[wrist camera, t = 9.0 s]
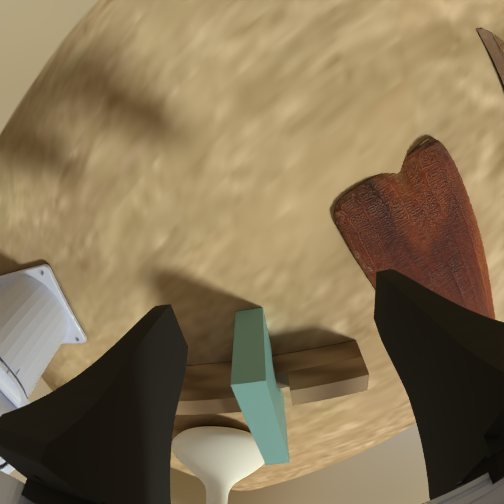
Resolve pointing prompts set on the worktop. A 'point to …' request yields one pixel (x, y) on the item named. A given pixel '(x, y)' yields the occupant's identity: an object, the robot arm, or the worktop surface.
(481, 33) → the wooden fragment
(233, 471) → the flower in vase
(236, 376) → the teal arch block
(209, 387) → the brown wooden bar
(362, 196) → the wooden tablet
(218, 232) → the worktop surface
